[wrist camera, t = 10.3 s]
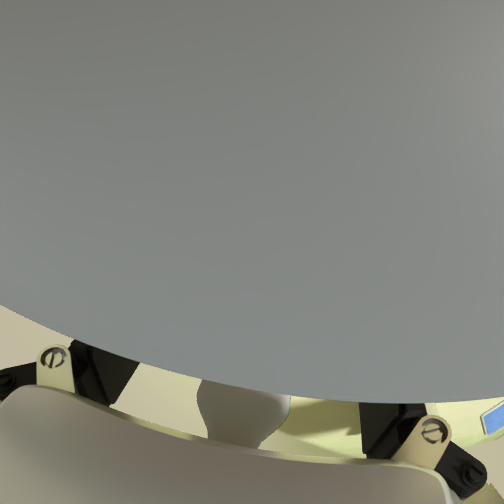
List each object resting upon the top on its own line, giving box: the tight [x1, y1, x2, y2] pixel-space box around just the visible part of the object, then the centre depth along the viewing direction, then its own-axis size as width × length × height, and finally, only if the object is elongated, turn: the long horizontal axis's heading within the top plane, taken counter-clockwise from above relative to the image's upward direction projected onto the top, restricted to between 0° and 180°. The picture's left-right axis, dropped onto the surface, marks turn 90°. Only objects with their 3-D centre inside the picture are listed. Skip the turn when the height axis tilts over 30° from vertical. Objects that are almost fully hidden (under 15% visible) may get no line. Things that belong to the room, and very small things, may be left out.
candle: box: [197, 379, 291, 449], centre depth 16 cm, size 5×5×25 cm
